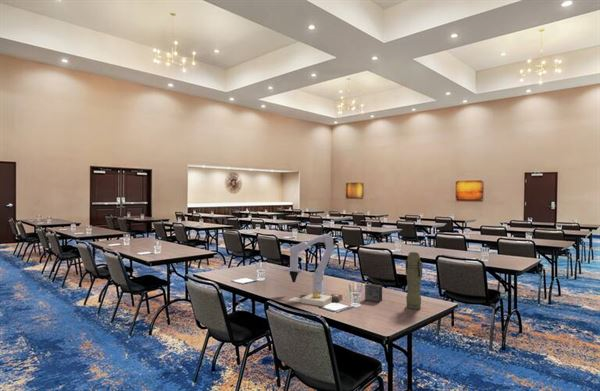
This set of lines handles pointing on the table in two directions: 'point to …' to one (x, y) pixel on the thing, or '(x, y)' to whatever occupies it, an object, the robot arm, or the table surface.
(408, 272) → the thermos
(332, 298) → the button console
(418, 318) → the table surface
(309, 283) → the table surface
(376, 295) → the small box
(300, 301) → the billet mat
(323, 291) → the robot arm
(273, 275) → the table surface
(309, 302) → the block
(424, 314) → the table surface
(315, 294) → the billet
